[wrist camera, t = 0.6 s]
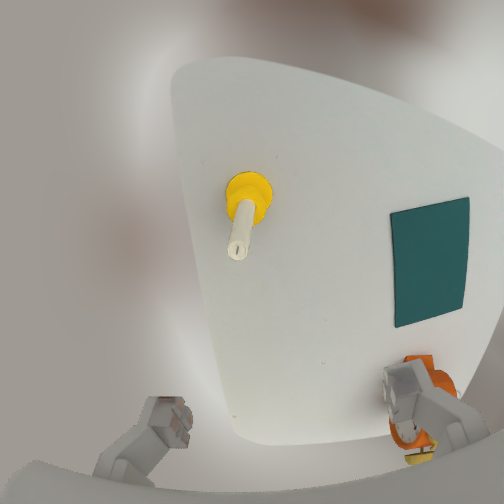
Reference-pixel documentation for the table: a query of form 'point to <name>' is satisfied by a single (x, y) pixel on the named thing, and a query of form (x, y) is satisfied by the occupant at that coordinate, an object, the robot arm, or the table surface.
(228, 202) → the candle
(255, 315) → the table surface
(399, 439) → the alarm clock
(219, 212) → the table surface
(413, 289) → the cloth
